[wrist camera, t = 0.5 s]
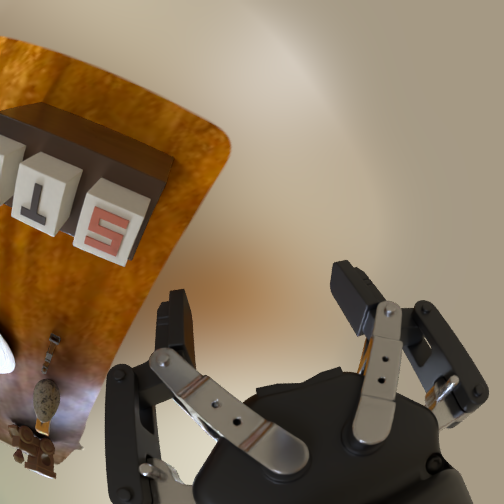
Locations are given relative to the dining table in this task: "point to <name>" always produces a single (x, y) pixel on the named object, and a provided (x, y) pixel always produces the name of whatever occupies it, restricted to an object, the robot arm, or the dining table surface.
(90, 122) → the tile rack
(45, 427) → the supplement box
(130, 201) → the tile
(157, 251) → the dining table surface
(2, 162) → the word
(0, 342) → the plate
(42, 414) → the decorative egg
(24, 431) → the wooden toy train
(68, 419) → the dining table surface
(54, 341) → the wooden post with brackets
